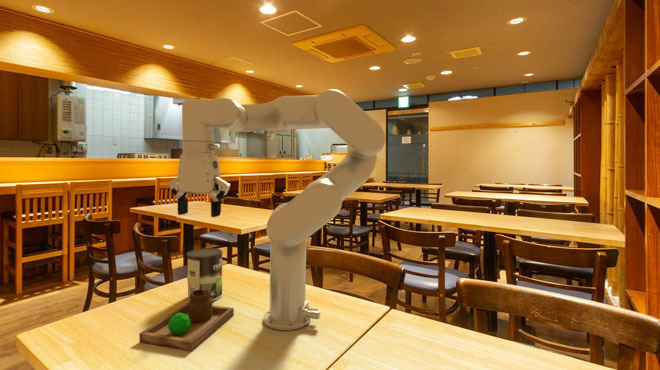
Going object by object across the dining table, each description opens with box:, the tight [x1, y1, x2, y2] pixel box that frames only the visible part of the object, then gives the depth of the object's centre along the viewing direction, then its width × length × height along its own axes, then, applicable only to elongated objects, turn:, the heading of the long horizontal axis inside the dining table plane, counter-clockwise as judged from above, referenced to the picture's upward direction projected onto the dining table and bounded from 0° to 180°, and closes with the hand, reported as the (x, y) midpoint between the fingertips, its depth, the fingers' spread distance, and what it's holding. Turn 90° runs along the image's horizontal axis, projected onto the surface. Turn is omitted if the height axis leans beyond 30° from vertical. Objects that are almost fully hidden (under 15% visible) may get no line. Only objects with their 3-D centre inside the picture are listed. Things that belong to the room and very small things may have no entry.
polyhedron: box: [168, 313, 191, 335], centre depth 81 cm, size 5×5×5 cm
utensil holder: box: [186, 274, 213, 323], centre depth 88 cm, size 6×6×12 cm
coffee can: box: [186, 247, 223, 302], centre depth 104 cm, size 10×10×14 cm
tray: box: [138, 302, 235, 352], centre depth 85 cm, size 14×18×2 cm
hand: (199, 215), depth 87 cm, fingers open, 9 cm apart
